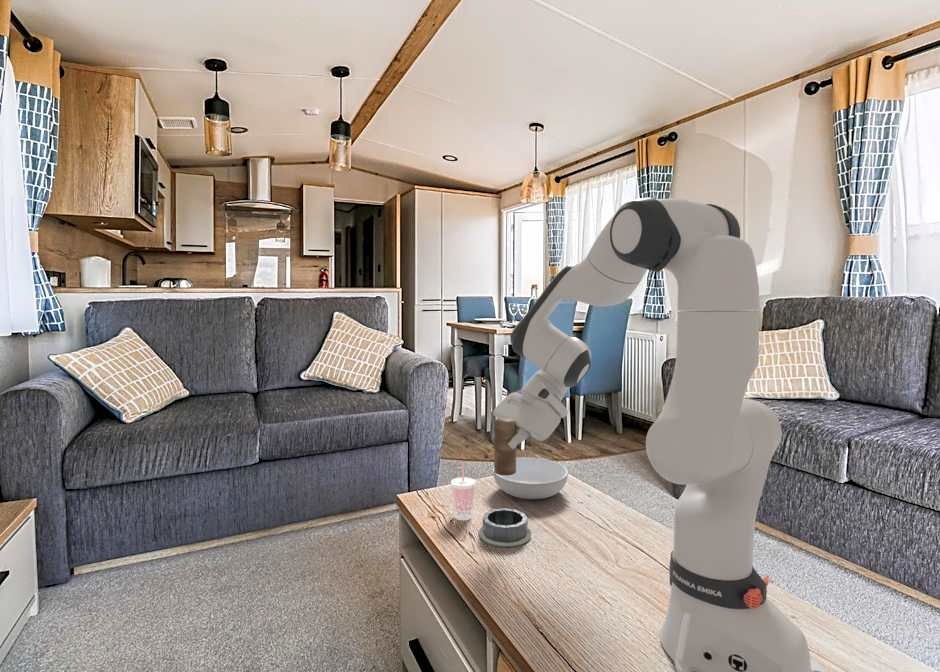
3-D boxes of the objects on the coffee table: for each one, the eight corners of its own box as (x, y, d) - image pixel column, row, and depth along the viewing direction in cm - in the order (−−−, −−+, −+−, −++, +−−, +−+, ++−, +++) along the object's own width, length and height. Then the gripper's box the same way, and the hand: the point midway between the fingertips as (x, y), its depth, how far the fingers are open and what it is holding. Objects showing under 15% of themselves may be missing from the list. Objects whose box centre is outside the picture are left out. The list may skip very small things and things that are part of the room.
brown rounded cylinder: (520, 471, 118) (520, 420, 117) (505, 477, 114) (506, 424, 113) (504, 466, 121) (504, 416, 120) (489, 471, 118) (489, 420, 117)
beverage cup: (480, 518, 128) (480, 463, 127) (459, 523, 125) (458, 467, 123) (467, 509, 133) (467, 456, 132) (446, 514, 130) (446, 460, 129)
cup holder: (541, 534, 119) (541, 517, 118) (507, 553, 110) (507, 534, 110) (503, 518, 127) (503, 502, 127) (468, 534, 119) (468, 517, 119)
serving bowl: (483, 502, 137) (483, 477, 137) (503, 476, 157) (503, 454, 157) (562, 512, 131) (562, 486, 130) (572, 483, 151) (572, 460, 150)
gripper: (509, 380, 128) (474, 423, 125) (556, 396, 110) (516, 446, 107) (525, 396, 131) (490, 439, 127) (573, 414, 112) (534, 464, 109)
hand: (502, 442), depth 117 cm, fingers closed on brown rounded cylinder, 5 cm apart
